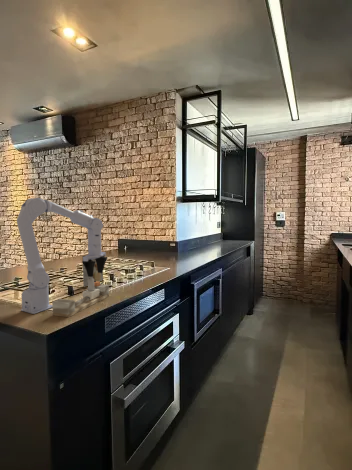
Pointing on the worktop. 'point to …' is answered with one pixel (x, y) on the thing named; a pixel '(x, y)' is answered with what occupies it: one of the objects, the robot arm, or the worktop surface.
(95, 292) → the carriage
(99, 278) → the coffee box
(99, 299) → the rail base
